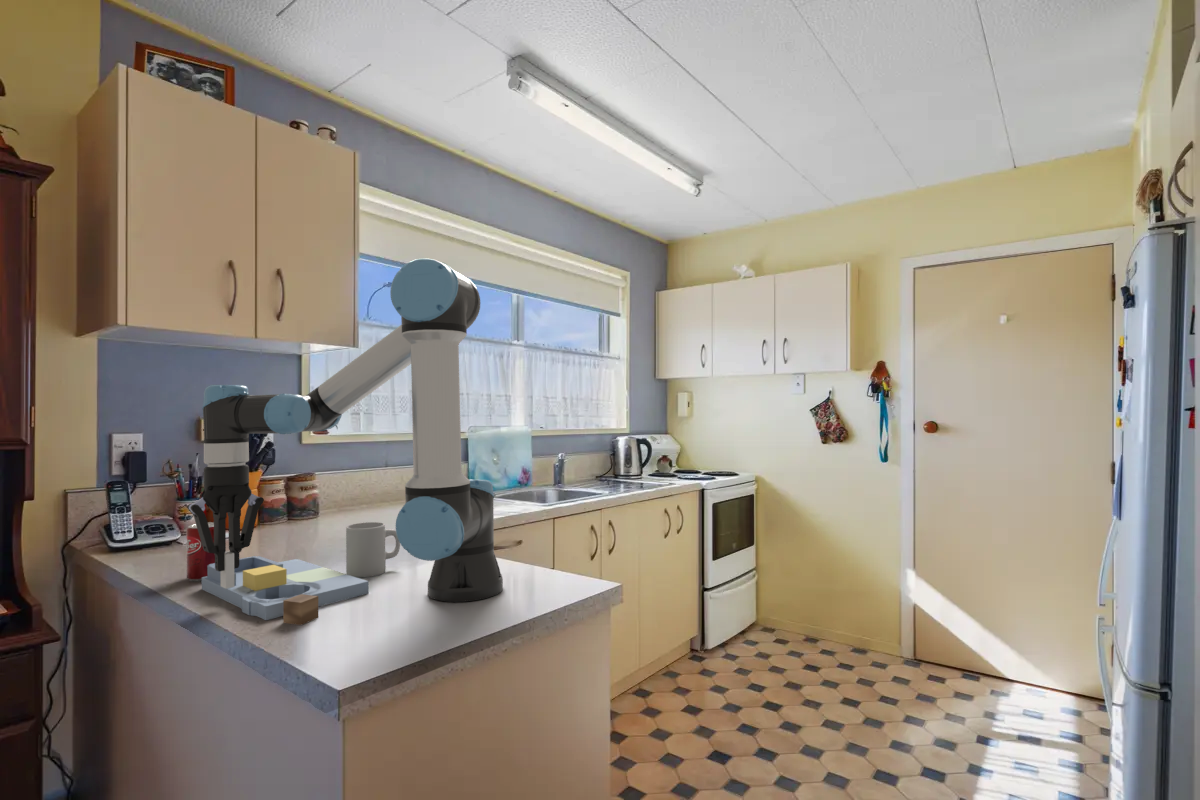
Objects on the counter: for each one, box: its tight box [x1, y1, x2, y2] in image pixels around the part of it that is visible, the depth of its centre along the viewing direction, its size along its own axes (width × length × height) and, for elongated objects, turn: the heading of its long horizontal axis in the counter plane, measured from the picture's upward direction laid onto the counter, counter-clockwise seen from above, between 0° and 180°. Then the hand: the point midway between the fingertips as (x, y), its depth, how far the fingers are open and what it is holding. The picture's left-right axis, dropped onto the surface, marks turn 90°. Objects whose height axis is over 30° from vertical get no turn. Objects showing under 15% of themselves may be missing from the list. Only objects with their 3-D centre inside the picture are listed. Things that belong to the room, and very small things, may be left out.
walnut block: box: [282, 594, 319, 626], centre depth 110 cm, size 4×4×4 cm
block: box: [243, 565, 287, 591], centre depth 125 cm, size 6×6×3 cm
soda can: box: [185, 521, 215, 582], centre depth 140 cm, size 7×7×12 cm
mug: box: [345, 521, 401, 579], centre depth 143 cm, size 12×8×11 cm
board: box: [201, 555, 370, 621], centre depth 128 cm, size 32×21×5 cm, turn 51°
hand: (227, 586), depth 119 cm, fingers closed
